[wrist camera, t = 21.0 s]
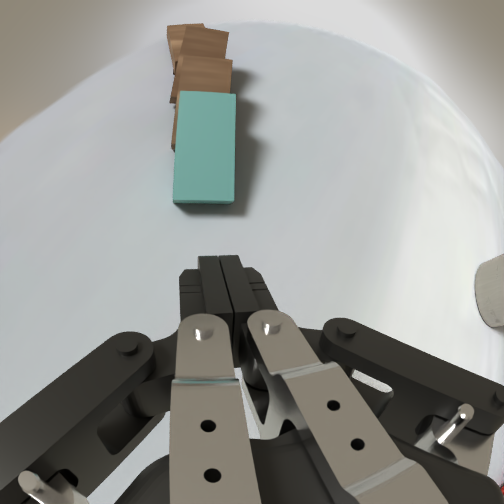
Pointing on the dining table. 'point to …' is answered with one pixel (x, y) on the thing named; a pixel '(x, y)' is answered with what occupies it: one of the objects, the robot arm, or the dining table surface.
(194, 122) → the teal tile
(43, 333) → the dining table surface
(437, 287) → the dining table surface
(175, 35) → the tile
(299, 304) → the dining table surface
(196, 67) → the tile
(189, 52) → the tile
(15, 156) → the dining table surface
